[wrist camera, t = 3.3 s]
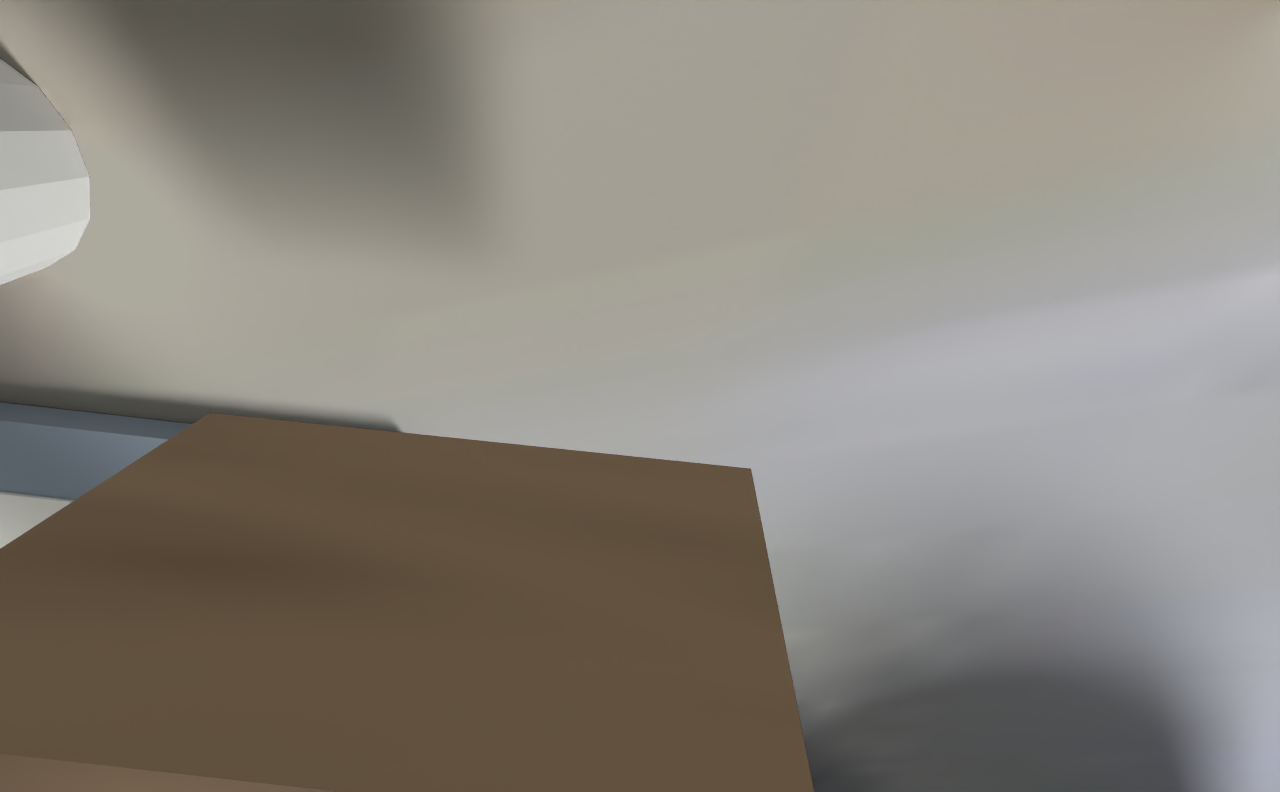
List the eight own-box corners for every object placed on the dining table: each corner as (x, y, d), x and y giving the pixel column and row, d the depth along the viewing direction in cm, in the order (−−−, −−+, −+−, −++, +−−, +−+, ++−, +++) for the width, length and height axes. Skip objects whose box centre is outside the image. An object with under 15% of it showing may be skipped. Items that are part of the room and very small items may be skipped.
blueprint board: (431, 767, 25) (421, 795, 24) (-129, 701, 25) (-163, 725, 24) (416, 449, 19) (402, 468, 18) (-307, 367, 20) (-360, 381, 19)
